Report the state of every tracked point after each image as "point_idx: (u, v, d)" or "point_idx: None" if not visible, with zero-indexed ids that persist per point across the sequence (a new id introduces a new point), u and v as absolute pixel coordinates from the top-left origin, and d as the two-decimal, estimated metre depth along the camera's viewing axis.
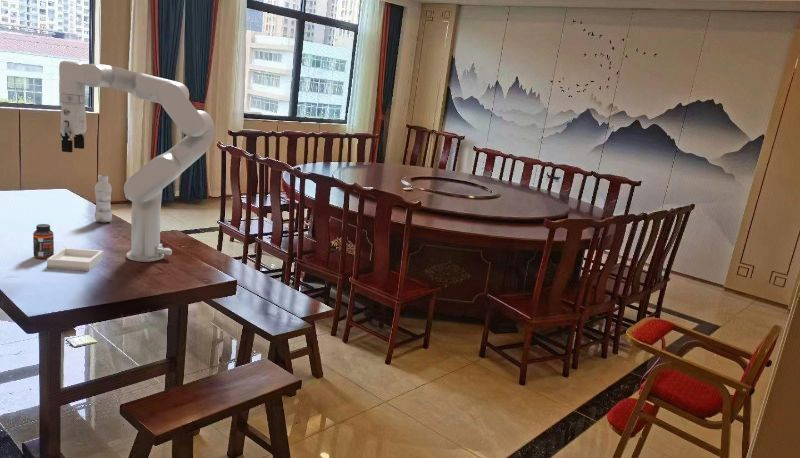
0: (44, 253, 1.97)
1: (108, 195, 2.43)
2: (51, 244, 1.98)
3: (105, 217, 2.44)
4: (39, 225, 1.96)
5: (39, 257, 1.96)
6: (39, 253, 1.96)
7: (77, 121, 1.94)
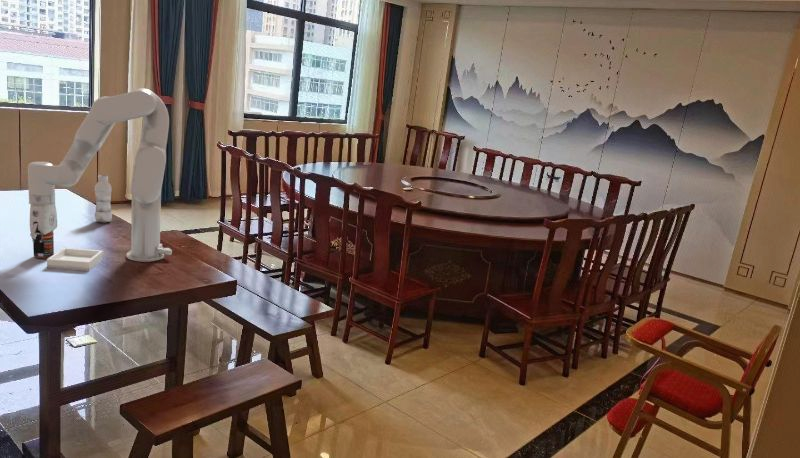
0: (44, 253, 1.97)
1: (108, 195, 2.43)
2: (51, 244, 1.98)
3: (105, 217, 2.44)
4: None
5: (39, 257, 1.96)
6: (39, 253, 1.96)
7: (46, 221, 1.93)
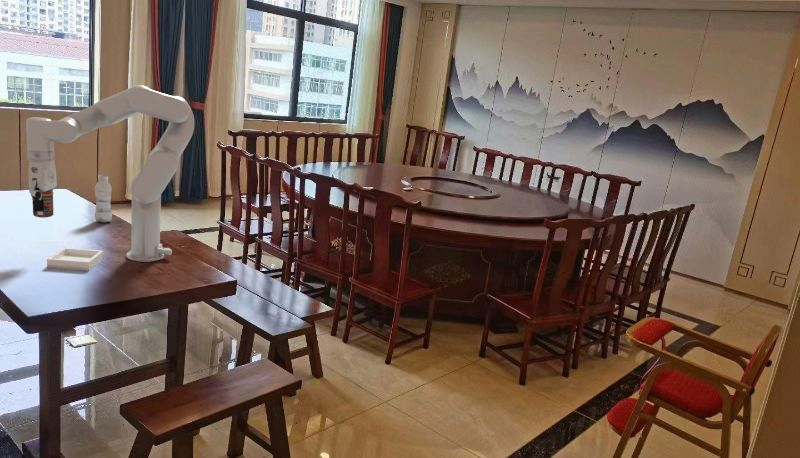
0: (43, 211, 1.93)
1: (108, 195, 2.43)
2: (51, 202, 1.94)
3: (105, 217, 2.44)
4: None
5: (38, 215, 1.93)
6: None
7: (45, 178, 1.90)
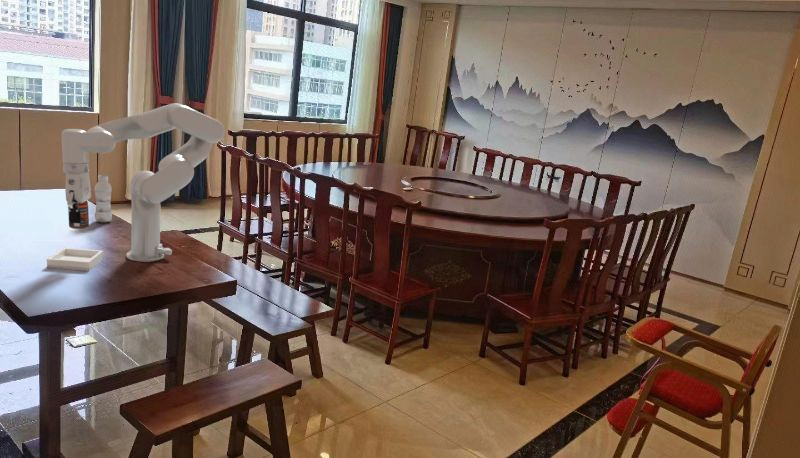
0: (80, 223, 1.93)
1: (108, 195, 2.43)
2: (86, 214, 1.94)
3: (105, 217, 2.44)
4: None
5: (75, 227, 1.93)
6: (75, 223, 1.92)
7: (82, 190, 1.89)
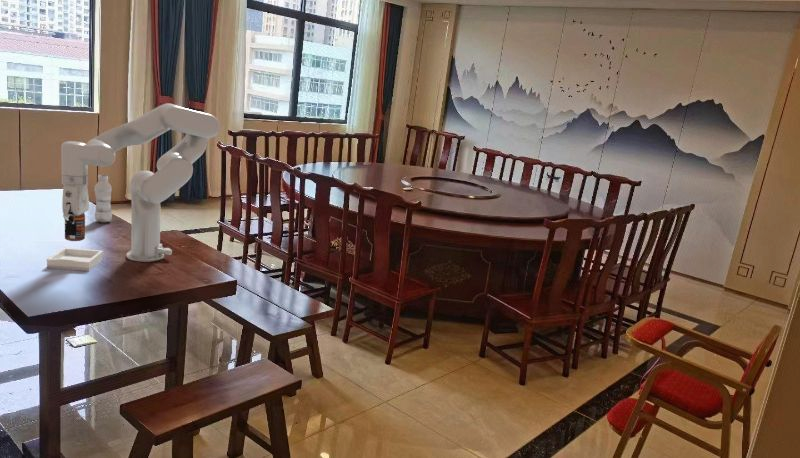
0: (75, 235, 1.92)
1: (108, 195, 2.43)
2: (83, 226, 1.94)
3: (105, 217, 2.44)
4: None
5: (70, 239, 1.92)
6: (71, 235, 1.92)
7: (79, 202, 1.89)
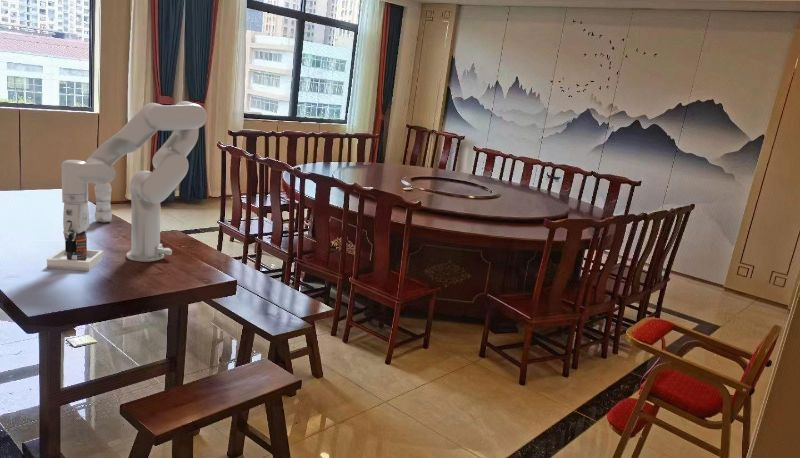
0: (77, 256, 1.95)
1: (108, 195, 2.43)
2: (84, 247, 1.96)
3: (105, 217, 2.44)
4: None
5: None
6: (73, 256, 1.94)
7: (80, 220, 1.91)
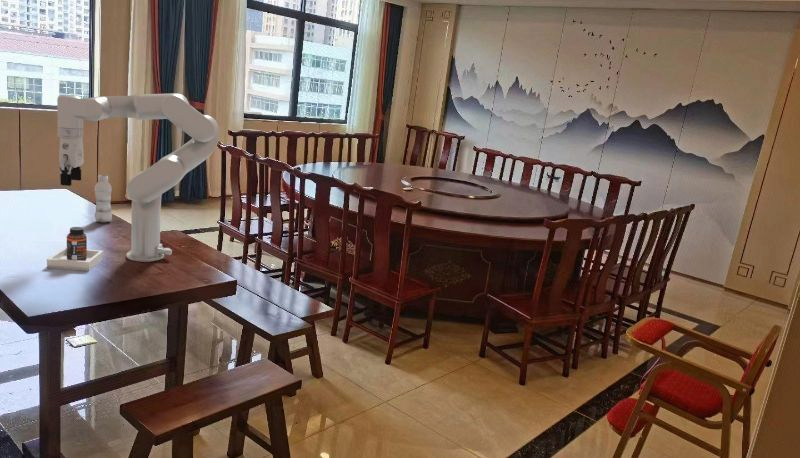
0: (77, 256, 1.95)
1: (108, 195, 2.43)
2: (84, 247, 1.96)
3: (105, 217, 2.44)
4: (73, 228, 1.94)
5: None
6: (73, 256, 1.94)
7: (76, 155, 1.94)
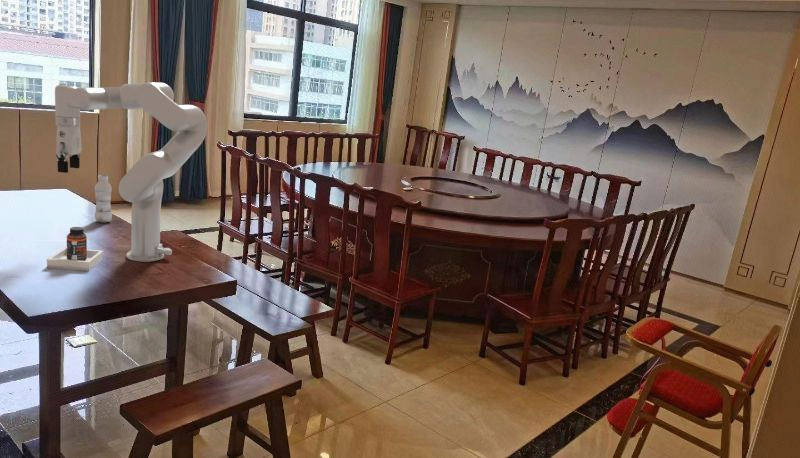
0: (77, 256, 1.95)
1: (108, 195, 2.43)
2: (84, 247, 1.96)
3: (105, 217, 2.44)
4: (73, 228, 1.94)
5: None
6: (73, 256, 1.94)
7: (72, 143, 2.01)
